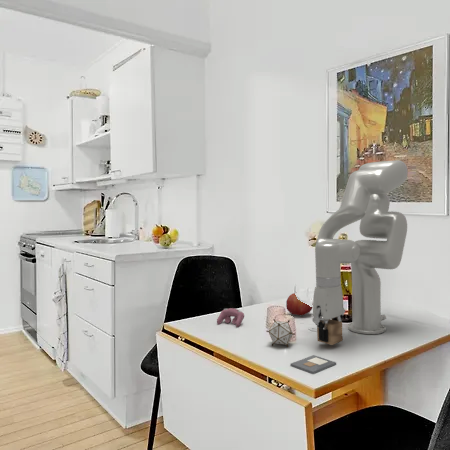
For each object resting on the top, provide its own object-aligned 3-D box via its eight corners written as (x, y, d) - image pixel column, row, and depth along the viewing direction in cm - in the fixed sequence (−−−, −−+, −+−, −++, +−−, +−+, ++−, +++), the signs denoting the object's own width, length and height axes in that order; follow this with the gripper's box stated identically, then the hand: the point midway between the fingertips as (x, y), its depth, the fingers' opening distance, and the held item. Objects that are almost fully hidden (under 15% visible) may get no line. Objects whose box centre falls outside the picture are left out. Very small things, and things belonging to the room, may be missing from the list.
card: (313, 357, 127) (313, 354, 127) (336, 364, 121) (336, 362, 121) (290, 365, 121) (290, 363, 121) (313, 374, 115) (313, 371, 115)
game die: (285, 355, 140) (303, 329, 141) (280, 354, 132) (299, 326, 133) (263, 338, 144) (280, 313, 144) (257, 336, 136) (275, 309, 137)
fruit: (309, 311, 179) (309, 287, 179) (316, 318, 170) (315, 292, 169) (284, 312, 179) (283, 288, 178) (289, 319, 169) (288, 293, 168)
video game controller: (243, 329, 162) (247, 311, 164) (237, 326, 158) (241, 308, 161) (221, 326, 167) (224, 308, 170) (215, 323, 164) (219, 305, 166)
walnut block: (328, 336, 141) (327, 318, 140) (342, 340, 136) (342, 321, 136) (317, 340, 137) (316, 322, 137) (331, 345, 133) (331, 325, 133)
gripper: (335, 276, 144) (336, 329, 145) (300, 284, 133) (302, 342, 134) (354, 279, 138) (356, 334, 139) (320, 288, 127) (322, 348, 128)
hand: (329, 338), depth 137 cm, fingers closed on walnut block, 5 cm apart
